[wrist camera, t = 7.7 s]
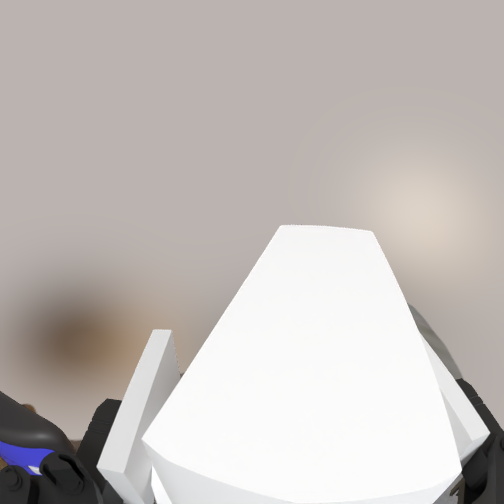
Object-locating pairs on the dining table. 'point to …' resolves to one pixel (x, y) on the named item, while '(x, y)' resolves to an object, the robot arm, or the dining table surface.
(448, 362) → the dining table surface
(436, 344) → the dining table surface
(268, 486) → the base with upright slab
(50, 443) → the black two-tone rounded device
